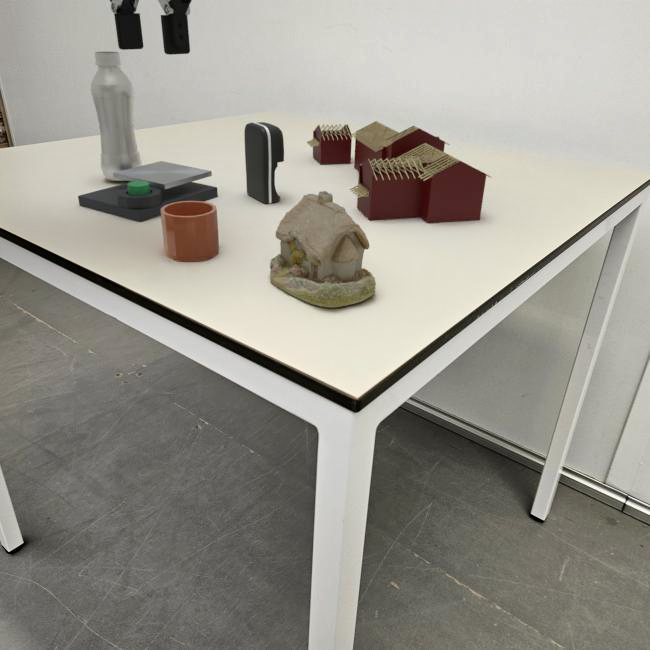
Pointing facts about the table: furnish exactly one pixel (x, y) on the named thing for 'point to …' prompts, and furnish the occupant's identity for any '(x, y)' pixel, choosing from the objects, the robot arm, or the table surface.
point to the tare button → (138, 188)
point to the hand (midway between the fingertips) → (153, 51)
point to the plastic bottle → (114, 115)
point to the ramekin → (190, 230)
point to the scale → (144, 200)
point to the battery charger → (263, 160)
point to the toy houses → (403, 173)
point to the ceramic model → (321, 254)
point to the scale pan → (163, 174)
